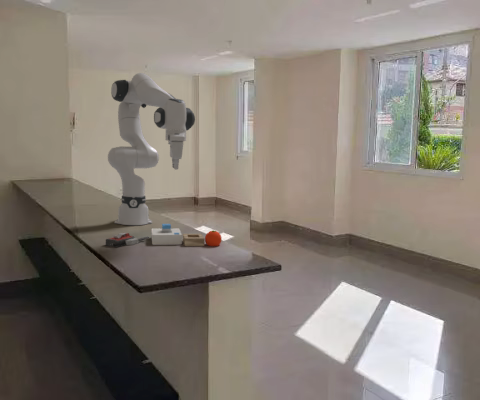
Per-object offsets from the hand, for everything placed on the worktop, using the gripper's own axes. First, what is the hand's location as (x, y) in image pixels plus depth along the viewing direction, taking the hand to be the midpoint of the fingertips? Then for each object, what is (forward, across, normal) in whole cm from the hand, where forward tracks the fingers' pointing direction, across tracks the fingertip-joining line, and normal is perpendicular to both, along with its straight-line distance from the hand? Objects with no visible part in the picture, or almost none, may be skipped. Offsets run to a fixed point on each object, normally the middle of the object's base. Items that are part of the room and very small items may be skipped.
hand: (175, 168), depth 214 cm
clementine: (+31, +17, +15) cm, 39 cm away
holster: (+31, +14, +7) cm, 35 cm away
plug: (+30, +9, -4) cm, 32 cm away
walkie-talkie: (+32, +7, -20) cm, 38 cm away
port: (+31, +9, -4) cm, 33 cm away
